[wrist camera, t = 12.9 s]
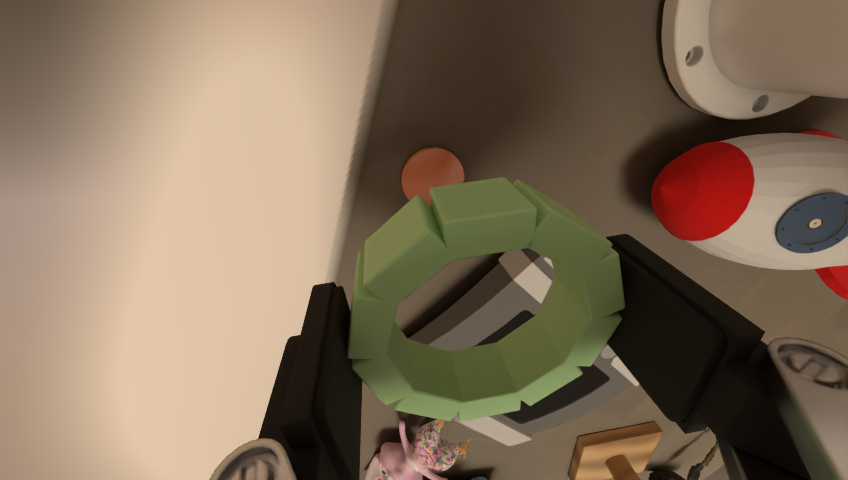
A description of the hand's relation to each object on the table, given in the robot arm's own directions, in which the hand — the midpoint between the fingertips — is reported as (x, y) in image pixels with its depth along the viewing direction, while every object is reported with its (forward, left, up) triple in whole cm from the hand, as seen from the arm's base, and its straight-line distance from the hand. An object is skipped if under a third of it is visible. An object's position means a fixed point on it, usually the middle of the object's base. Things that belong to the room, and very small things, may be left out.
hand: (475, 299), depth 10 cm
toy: (+6, +31, -6) cm, 33 cm away
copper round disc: (0, 0, -10) cm, 10 cm away
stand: (+36, +18, -10) cm, 42 cm away
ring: (0, 0, 0) cm, 0 cm away
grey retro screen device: (+15, +6, -10) cm, 19 cm away
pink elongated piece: (+19, 0, -7) cm, 20 cm away
